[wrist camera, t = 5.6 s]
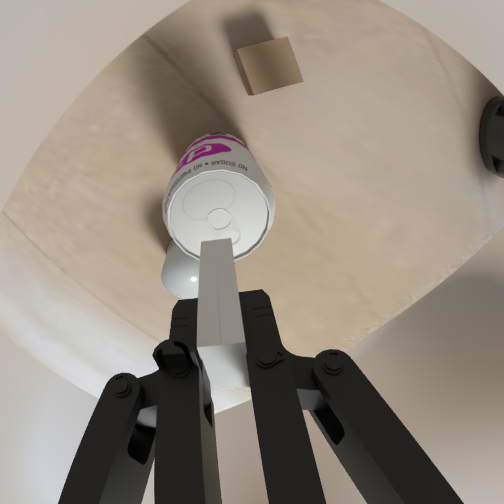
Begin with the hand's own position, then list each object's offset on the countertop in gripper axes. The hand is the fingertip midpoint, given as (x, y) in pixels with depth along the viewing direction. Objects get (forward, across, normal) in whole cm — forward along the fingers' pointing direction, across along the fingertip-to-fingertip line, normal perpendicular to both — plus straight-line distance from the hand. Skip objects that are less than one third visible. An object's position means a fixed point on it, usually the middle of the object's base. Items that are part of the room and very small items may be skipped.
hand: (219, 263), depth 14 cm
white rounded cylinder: (+20, +5, +11) cm, 24 cm away
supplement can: (+20, 0, 0) cm, 20 cm away
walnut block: (+20, -6, -11) cm, 24 cm away
